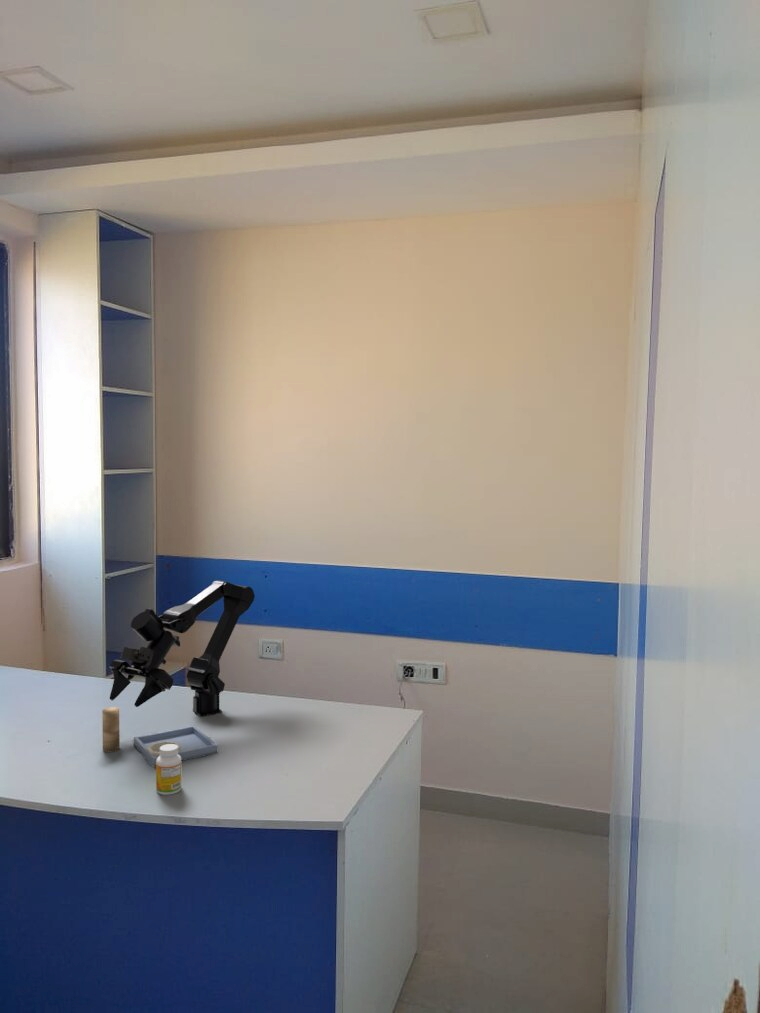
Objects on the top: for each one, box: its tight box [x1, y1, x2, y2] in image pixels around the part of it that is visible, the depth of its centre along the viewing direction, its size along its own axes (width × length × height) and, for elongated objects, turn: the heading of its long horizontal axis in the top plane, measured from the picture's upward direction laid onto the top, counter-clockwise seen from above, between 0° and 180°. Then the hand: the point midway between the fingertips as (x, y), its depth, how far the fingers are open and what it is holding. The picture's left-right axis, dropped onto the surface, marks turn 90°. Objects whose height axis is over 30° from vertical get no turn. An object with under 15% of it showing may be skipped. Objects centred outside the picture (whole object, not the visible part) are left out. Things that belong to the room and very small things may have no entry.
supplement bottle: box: [155, 744, 183, 796], centre depth 168 cm, size 5×5×10 cm
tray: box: [133, 725, 219, 767], centre depth 191 cm, size 16×16×2 cm
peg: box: [101, 706, 121, 753], centre depth 190 cm, size 4×4×10 cm
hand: (123, 702), depth 193 cm, fingers open, 9 cm apart
